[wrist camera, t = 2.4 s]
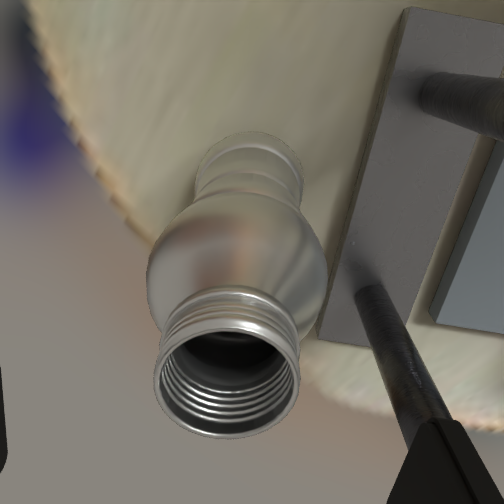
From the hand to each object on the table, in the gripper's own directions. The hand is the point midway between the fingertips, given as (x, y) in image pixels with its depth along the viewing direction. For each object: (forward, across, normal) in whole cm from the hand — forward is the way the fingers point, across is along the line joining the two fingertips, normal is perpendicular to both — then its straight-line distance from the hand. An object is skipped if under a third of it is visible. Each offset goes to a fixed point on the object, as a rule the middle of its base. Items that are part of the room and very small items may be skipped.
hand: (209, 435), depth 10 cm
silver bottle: (+21, 0, -1) cm, 21 cm away
